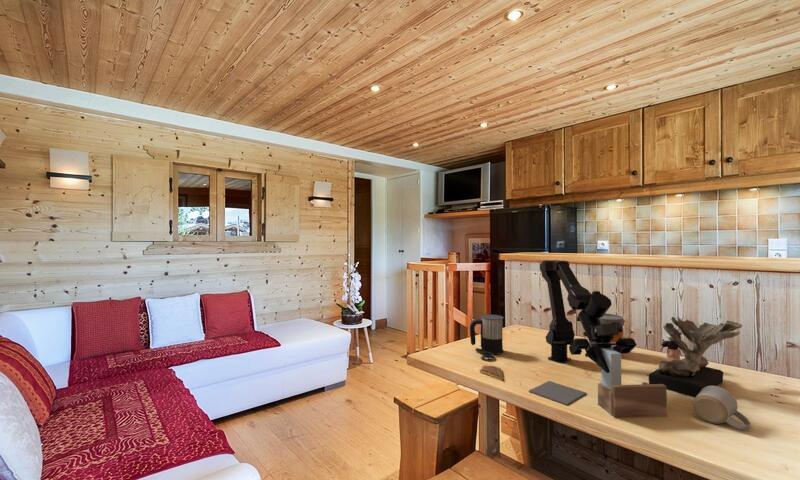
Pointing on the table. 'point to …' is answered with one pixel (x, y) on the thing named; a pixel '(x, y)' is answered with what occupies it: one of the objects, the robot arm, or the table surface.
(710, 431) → the table surface
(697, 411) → the ceramic mug
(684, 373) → the driftwood sculpture
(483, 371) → the shard
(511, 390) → the table surface
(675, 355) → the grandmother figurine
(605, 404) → the brown wooden box
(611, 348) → the robot arm
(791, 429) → the table surface
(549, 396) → the rubber mat
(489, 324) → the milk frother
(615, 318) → the reusable coffee cup
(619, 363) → the pale grey rectangular block
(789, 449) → the table surface
